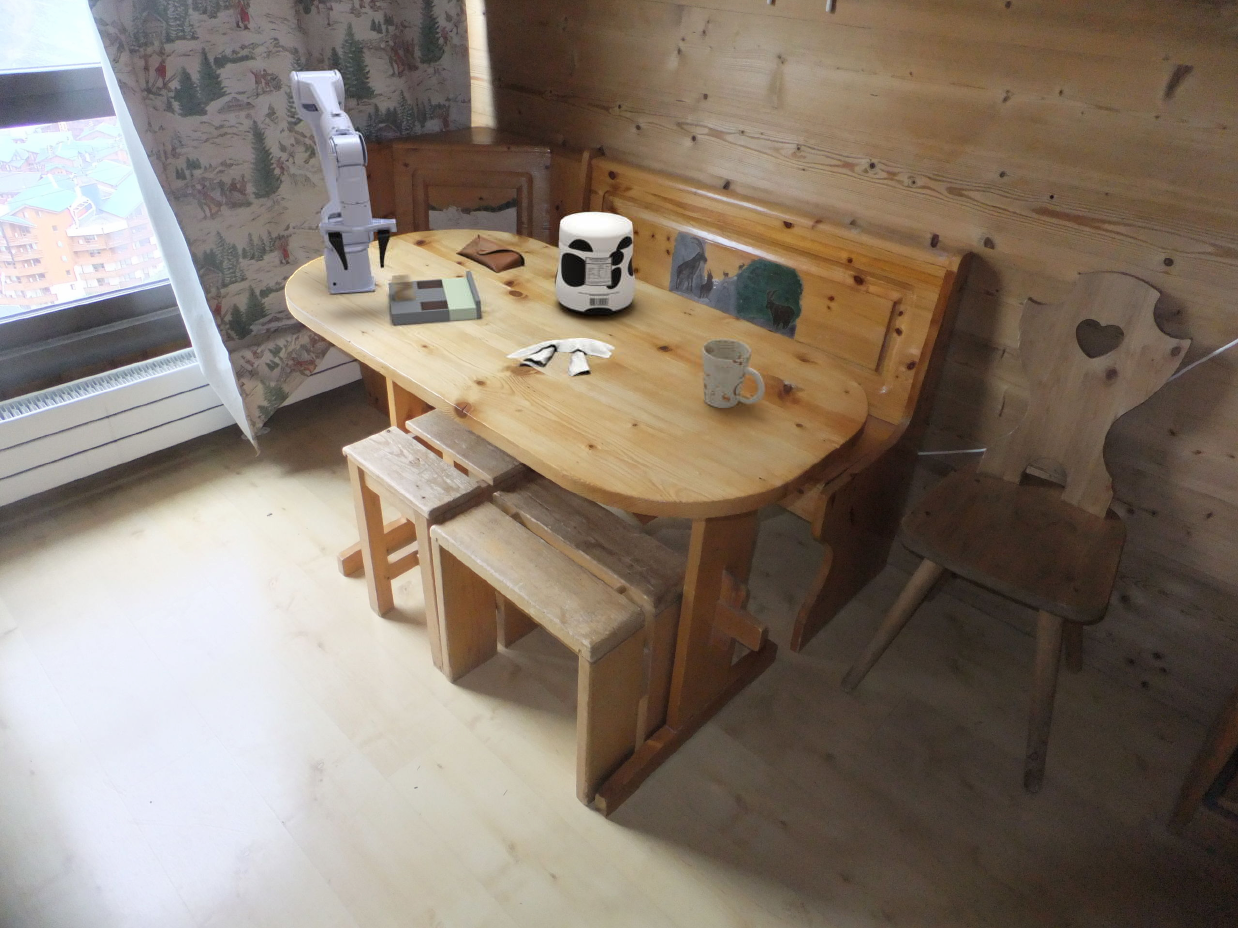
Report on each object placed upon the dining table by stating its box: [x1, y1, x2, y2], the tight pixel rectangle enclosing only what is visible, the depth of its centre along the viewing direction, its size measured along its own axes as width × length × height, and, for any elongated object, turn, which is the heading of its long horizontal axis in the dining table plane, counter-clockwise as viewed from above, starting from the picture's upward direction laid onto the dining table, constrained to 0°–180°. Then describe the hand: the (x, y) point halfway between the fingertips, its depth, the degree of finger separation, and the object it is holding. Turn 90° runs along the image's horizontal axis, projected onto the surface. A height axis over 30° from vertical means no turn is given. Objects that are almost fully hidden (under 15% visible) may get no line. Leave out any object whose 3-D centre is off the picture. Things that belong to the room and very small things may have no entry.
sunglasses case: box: [455, 234, 526, 274], centre depth 196 cm, size 18×7×7 cm, turn 45°
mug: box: [701, 338, 766, 409], centre depth 139 cm, size 8×13×10 cm, turn 51°
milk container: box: [554, 211, 636, 315], centre depth 171 cm, size 17×17×18 cm
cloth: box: [505, 337, 616, 377], centre depth 154 cm, size 20×22×2 cm
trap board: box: [387, 270, 483, 326], centre depth 172 cm, size 18×17×4 cm
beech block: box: [391, 274, 415, 301], centre depth 169 cm, size 4×4×4 cm
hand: (364, 267), depth 164 cm, fingers open, 6 cm apart
